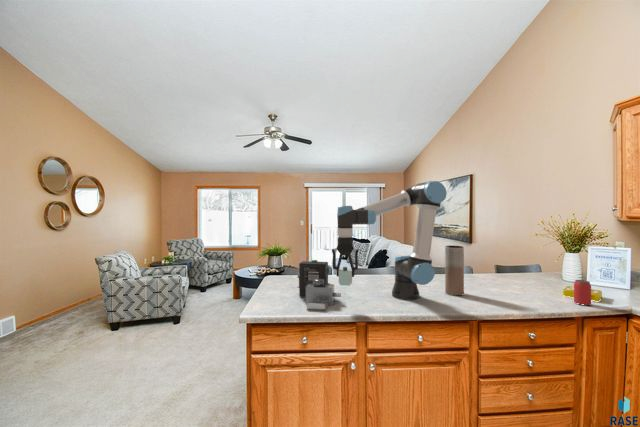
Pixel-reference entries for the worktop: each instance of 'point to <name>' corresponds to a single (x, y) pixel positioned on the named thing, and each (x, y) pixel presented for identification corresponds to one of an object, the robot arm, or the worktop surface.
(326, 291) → the motor
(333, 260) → the robot arm
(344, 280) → the block
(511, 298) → the worktop surface
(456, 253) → the vase
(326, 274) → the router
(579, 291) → the beer can
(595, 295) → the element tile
